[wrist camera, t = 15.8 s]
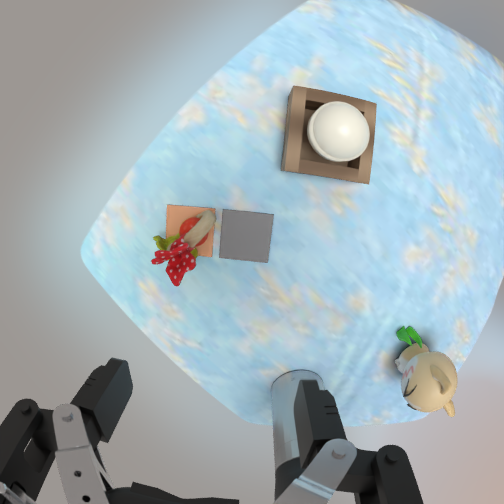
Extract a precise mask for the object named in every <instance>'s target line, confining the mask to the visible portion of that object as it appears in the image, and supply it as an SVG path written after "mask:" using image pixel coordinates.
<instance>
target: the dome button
mask: <svg viewBox="0 0 504 504" xmlns="http://www.w3.org/2000/svg"><path fill="white" fill-rule="evenodd" d="M307 136H308V140H309V142H310V144H311V146H312V148H313V149H314V150H315V152H316V153H318V154H319V155H320V156H321V157H323V158H325V159H327V160H330V161H335V162H341V161H350V160H353V159H355V158H357V157H359V156H360V155H361V154H362V153H363V152H364V151H365V149H366V148H367V145H368V142H369V137H370V132H369V126H368V123H367V121H366V119H365V117H364V116H363V114H362V113H361V112H360V111H359V110H358V109H357V108H355V107H354V106H352V105H350V104H348V103H345V102H339V101H335V102H329V103H326V104H324V105H322V106H321V107H320V108H319V109H318V110H316V111H315V112H314V113H313V115H312V116H311V117H310V119H309V122H308V126H307Z"/></svg>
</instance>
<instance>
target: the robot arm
mask: <svg viewBox="0 0 504 504" xmlns="http://www.w3.org/2000/svg"><path fill="white" fill-rule="evenodd" d="M132 389H133V384H132V380H131V375H130V371H129V366H128V362H127V361H126V360H121V359H116V358H111V359H110V360H109V361H108V363H107V364H106V365H105V366H102V365H101V366H99V367H98V368H96V369H95V370H94V371H93V372H92V373H91V375H90V376H89V378H88V379H87V380H86V382H85V384H83V386H82V387H81V388H80V390H79V391H78V393H77V394H76V396H75V397H74V398H73V400H72V402H71V403H70V404H62V405H60V406H58V407H56V409H55V410H47V409H40V408H39V407H38V405H37V403H36V402H35V401H33V400H31V399H22V400H20V401H18V402H17V403H16V404H15V406H14V407H13V408H12V410H11V411H10V413H9V414H8V415H7V417H6V418H5V420H4V421H3V422H2V424H1V426H0V504H36V503H35V501H36V499H37V497H38V494H39V492H40V489H41V487H42V485H43V483H44V480H45V478H46V476H47V474H48V472H49V469H50V467H51V465H52V463H53V461H54V459H55V457H56V461H57V465H58V470H59V474H60V477H61V481H62V484H63V488H64V492H65V495H66V498H67V501H68V504H239V500H236V499H223V498H213V497H211V498H196V499H182V498H179V497H177V496H174V495H172V494H170V493H167V492H165V491H162V490H160V489H158V488H155V487H151V486H147V485H143V484H139V483H135V482H133V483H132V486H131V487H121V488H115V486H114V484H113V482H112V481H111V479H110V477H109V474H108V472H107V469H106V467H105V464H104V461H103V459H102V456H101V453H100V451H99V448H98V446H97V445H98V443H99V441H103V442H107V443H108V442H109V440H110V438H111V435H112V434H113V431H114V429H115V427H116V425H117V423H118V421H119V419H120V417H121V415H122V413H123V411H124V409H125V406H126V405H127V402H128V401H129V399H130V397H131V394H132ZM271 396H272V417H273V436H274V456H275V478H276V483H275V502H274V503H273V504H327V502H328V501H329V499H330V498H331V497H332V495H333V493H334V491H335V490H336V491H344V492H352V493H354V496H355V502H356V504H423V500H422V497H421V494H420V491H419V488H418V485H417V482H416V479H415V476H414V473H413V470H412V467H411V465H410V462H409V459H408V456H407V454H406V452H405V451H404V450H403V449H402V448H401V447H399V446H396V445H386V446H384V447H382V448H380V449H379V451H378V452H376V451H366V450H360V449H357V448H356V447H355V446H354V445H353V444H352V443H351V442H350V441H348V440H347V438H346V435H345V432H344V429H343V425H342V422H341V419H340V415H339V414H338V409H337V407H336V403H335V399H334V397H333V396H332V395H331V394H330V392H329V391H328V390H325V388H324V385H323V381H322V379H321V378H320V377H319V376H318V375H317V374H315V373H313V372H310V371H305V370H298V371H292V372H289V373H286V374H284V375H282V376H280V377H279V378H278V379H277V380H276V381H275V382H274V383H273V385H272V389H271ZM30 439H31V441H30ZM29 441H30V443H29V445H28V446H27V444H28V442H29ZM26 446H27V448H26V450H25V452H24V449H25V447H26Z"/></svg>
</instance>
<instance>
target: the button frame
mask: <svg viewBox="0 0 504 504" xmlns="http://www.w3.org/2000/svg"><path fill="white" fill-rule="evenodd" d="M335 101H339V102H345V103H348V104H350V105H352V106H354V107H355V108H357V109H358V110H359V111H360V112H361V113H362V114H363V116H364V117H365V119H366V121H367V123H368V126H369V132H370V137H369V142H368V145H367V148H366V149H365V151H364V152H363V153H362V154H361V155H360V156H359V157H357V158H355V159H353V160H350V161H341V162H335V161H330V160H327V159H325V158H323V157H321V156H320V155H319V154H318V153H316V152H315V150H314V149H313V148H312V146H311V144H310V142H309V140H308V136H307V126H308V122H309V119H310V117H311V116H312V115H313V113H314V112H315V111H316V110H318V109H319V108H320V107H321V106H322V105H324V104H326V103H329V102H335ZM376 105H377V104H376V103H373V102H369V101H366V100H362V99H358V98H354V97H350V96H346V95H341V94H337V93H332V92H327V91H322V90H317V89H312V88H306V87H300V86H293V88H292V90H291V92H290V94H289V98H288V108H287V117H286V127H285V136H284V145H283V155H282V163H281V171H289V172H296V173H303V174H310V175H317V176H323V177H329V178H335V179H341V180H347V181H352V182H358V183H364V184H369V181H370V173H371V165H372V156H373V146H374V135H375V122H376Z"/></svg>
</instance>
